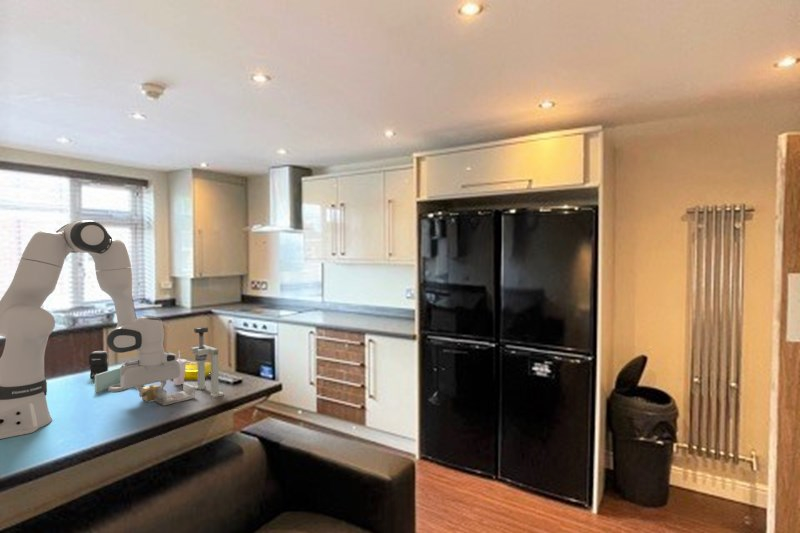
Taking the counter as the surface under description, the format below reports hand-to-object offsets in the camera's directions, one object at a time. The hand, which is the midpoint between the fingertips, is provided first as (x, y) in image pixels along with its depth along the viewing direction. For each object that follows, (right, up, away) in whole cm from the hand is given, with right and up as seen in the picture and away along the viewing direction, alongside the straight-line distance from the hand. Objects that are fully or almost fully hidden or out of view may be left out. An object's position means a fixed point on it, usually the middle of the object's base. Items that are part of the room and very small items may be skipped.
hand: (151, 394), depth 169 cm
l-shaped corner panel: (-19, -2, +11) cm, 22 cm away
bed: (+10, -2, -1) cm, 10 cm away
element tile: (0, -1, +32) cm, 32 cm away
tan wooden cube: (0, -2, 0) cm, 2 cm away
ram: (+16, +12, +6) cm, 21 cm away
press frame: (+16, -2, +7) cm, 18 cm away
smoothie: (+1, -1, +19) cm, 19 cm away
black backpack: (-38, 0, +26) cm, 46 cm away
